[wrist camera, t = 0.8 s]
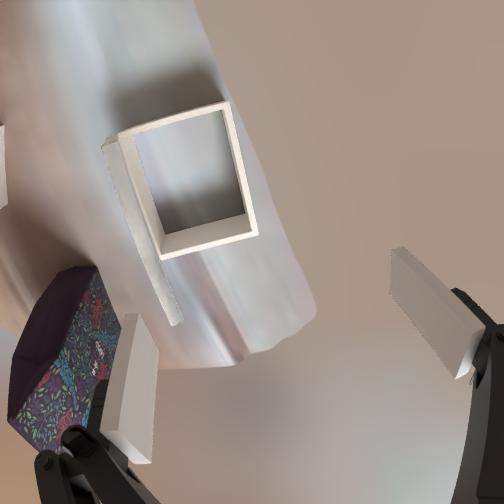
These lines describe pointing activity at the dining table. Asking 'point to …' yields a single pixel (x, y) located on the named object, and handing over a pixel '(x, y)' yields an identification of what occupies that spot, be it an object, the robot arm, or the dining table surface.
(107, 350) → the decorative box
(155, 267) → the lid
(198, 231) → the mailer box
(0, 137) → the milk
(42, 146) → the dining table surface
